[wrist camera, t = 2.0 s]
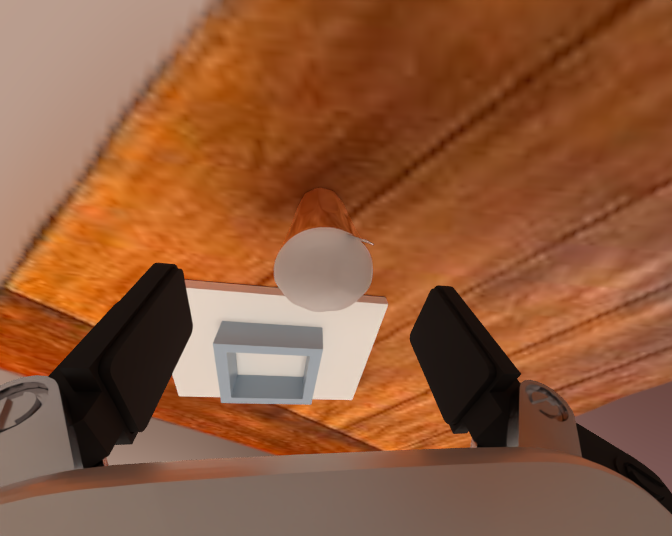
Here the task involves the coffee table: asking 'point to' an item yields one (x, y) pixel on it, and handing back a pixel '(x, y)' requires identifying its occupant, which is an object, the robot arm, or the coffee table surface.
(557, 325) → the coffee table surface
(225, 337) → the dock
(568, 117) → the coffee table surface
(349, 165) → the coffee table surface
